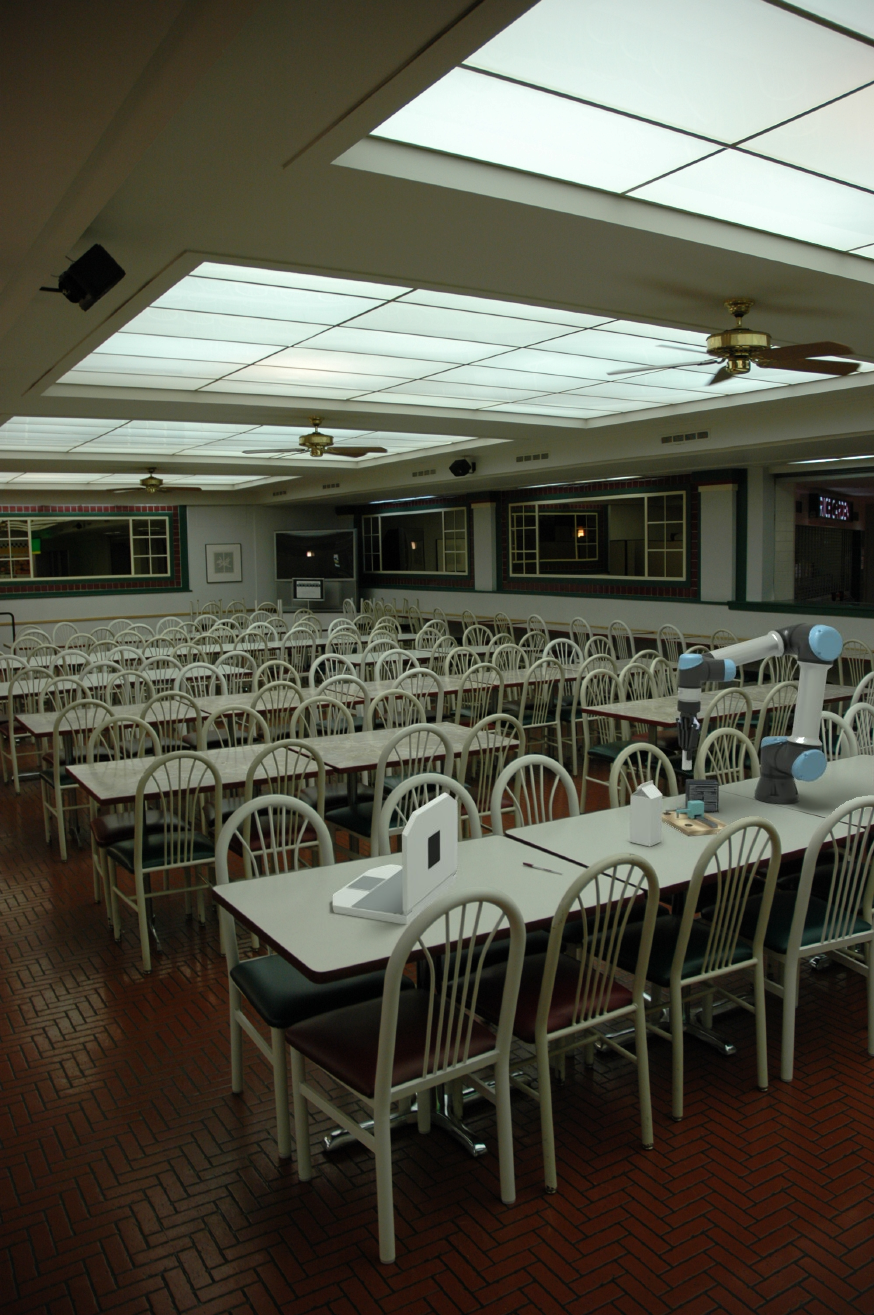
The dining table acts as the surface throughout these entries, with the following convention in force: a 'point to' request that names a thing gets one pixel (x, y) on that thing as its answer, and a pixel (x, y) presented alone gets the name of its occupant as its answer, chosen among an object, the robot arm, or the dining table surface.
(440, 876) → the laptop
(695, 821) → the board
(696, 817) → the beam
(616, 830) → the dining table surface
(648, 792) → the milk carton
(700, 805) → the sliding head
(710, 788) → the small box
